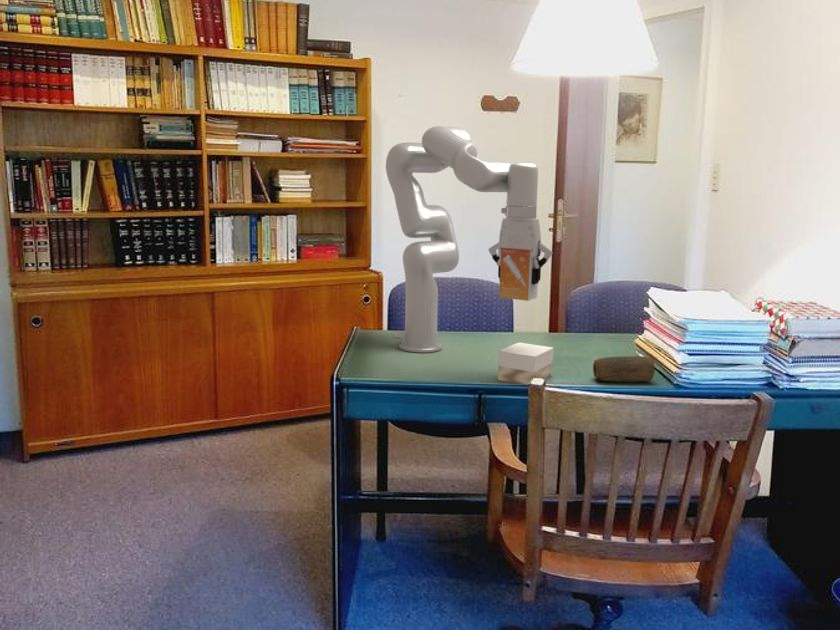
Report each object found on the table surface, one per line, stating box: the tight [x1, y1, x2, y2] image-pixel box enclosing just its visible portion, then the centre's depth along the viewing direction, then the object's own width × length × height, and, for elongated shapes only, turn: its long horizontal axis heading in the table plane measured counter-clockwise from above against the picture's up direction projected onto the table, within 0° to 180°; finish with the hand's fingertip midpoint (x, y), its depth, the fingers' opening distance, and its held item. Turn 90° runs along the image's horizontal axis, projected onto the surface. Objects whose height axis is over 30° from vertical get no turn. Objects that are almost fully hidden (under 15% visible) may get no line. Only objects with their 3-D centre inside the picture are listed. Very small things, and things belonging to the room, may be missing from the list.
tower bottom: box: [497, 363, 553, 386], centre depth 200 cm, size 10×12×4 cm
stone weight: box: [592, 355, 655, 383], centre depth 198 cm, size 15×7×7 cm, turn 96°
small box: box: [498, 247, 539, 302], centre depth 197 cm, size 8×6×13 cm
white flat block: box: [497, 341, 555, 372], centre depth 199 cm, size 10×12×4 cm
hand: (518, 282), depth 197 cm, fingers closed on small box, 8 cm apart
